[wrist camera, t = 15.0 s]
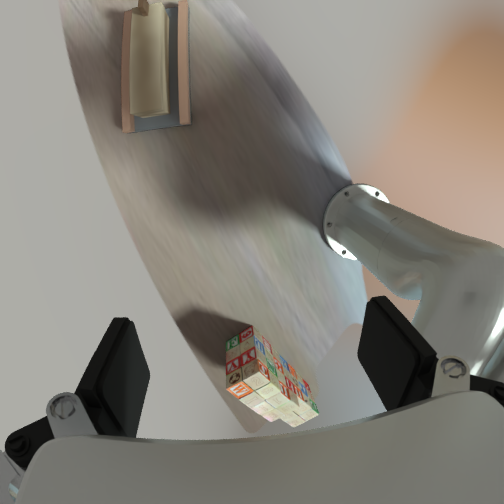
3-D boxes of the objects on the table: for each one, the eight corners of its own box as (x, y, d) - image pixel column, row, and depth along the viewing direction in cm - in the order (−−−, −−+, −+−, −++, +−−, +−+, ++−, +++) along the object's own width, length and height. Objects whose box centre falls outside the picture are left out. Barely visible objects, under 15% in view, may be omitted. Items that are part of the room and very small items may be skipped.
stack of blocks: (309, 383, 57) (323, 426, 46) (285, 396, 58) (295, 439, 47) (252, 324, 50) (259, 372, 39) (224, 341, 51) (225, 390, 40)
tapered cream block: (169, 18, 30) (157, -8, 21) (170, 114, 36) (155, 105, 27) (143, 23, 30) (125, -1, 21) (143, 118, 35) (121, 111, 27)
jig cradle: (189, 8, 30) (186, -1, 27) (191, 124, 37) (188, 122, 34) (130, 19, 30) (124, 11, 27) (129, 133, 37) (122, 132, 34)
